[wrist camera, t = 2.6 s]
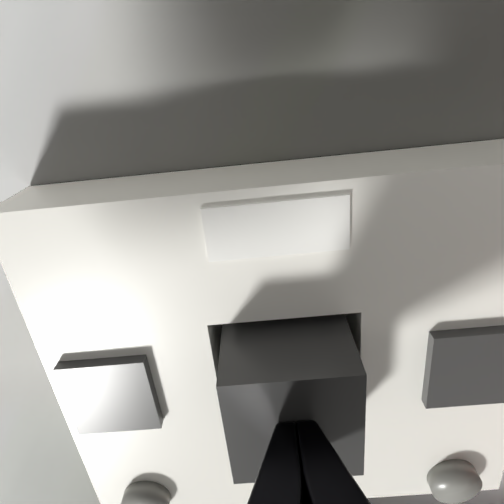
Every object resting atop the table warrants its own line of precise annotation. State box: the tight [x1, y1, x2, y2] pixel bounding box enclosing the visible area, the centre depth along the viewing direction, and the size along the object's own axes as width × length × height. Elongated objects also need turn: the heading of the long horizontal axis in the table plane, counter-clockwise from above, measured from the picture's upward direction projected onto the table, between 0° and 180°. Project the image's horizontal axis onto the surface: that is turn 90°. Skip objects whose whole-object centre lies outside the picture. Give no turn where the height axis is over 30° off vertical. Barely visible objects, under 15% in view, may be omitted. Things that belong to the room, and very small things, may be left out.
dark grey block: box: [216, 314, 367, 484], centre depth 10 cm, size 3×3×2 cm
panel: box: [0, 139, 504, 504], centre depth 11 cm, size 12×10×2 cm
